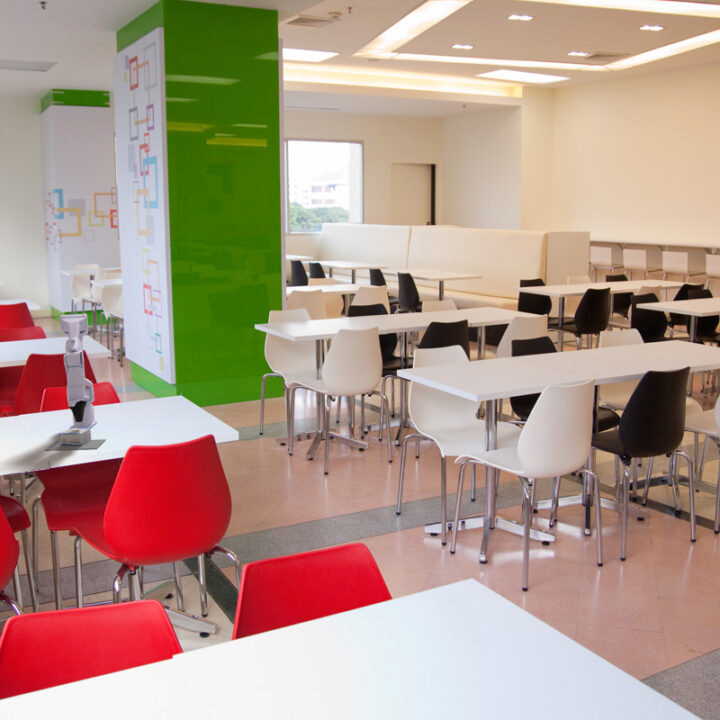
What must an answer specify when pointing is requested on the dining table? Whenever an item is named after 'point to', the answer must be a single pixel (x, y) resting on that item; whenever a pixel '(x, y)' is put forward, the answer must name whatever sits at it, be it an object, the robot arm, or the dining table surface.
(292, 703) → the dining table surface
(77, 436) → the medicine box
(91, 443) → the mat
